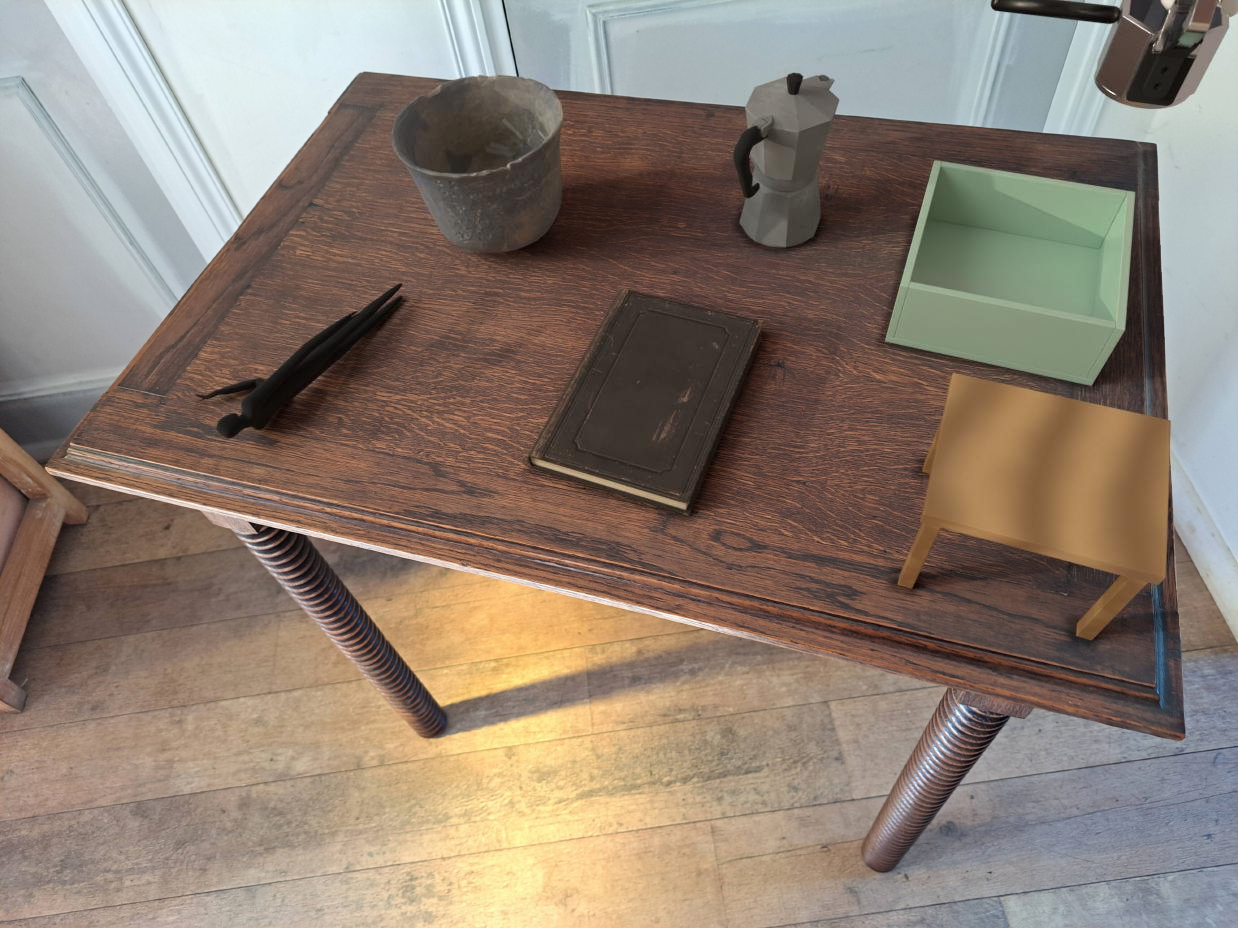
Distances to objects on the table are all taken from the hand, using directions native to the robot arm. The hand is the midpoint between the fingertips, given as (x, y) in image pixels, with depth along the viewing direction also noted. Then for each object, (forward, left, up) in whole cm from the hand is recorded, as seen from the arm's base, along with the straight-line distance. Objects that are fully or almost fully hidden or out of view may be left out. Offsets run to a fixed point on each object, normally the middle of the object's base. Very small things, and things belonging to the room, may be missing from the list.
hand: (1150, 71), depth 66 cm
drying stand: (0, +28, -26) cm, 39 cm away
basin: (+4, -2, -26) cm, 27 cm away
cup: (+59, +4, -27) cm, 65 cm away
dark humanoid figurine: (+71, +28, -27) cm, 81 cm away
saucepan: (+5, 0, -1) cm, 5 cm away
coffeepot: (+29, -6, -27) cm, 40 cm away
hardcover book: (+34, +22, -27) cm, 49 cm away
